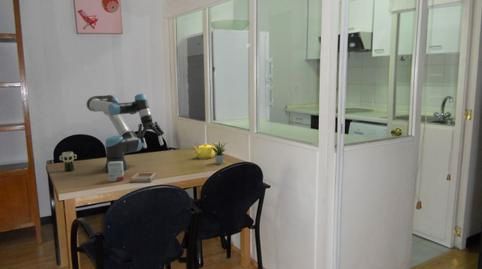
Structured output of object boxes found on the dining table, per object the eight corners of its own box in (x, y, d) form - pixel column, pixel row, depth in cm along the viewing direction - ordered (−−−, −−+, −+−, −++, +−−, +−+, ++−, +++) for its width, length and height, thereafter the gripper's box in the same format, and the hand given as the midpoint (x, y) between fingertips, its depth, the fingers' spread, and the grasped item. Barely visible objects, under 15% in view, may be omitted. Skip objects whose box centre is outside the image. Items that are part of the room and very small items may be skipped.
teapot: (199, 161, 288) (198, 147, 286) (189, 158, 300) (188, 144, 299) (223, 157, 300) (223, 143, 299) (213, 154, 313) (213, 141, 311)
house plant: (224, 159, 290) (223, 138, 288) (234, 162, 279) (233, 140, 277) (207, 162, 283) (206, 140, 280) (217, 165, 271) (216, 143, 269)
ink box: (124, 178, 243) (123, 160, 242) (122, 180, 239) (121, 162, 237) (111, 179, 243) (109, 161, 241) (108, 181, 238) (107, 163, 237)
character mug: (60, 172, 266) (58, 154, 264) (61, 170, 272) (59, 152, 270) (77, 170, 270) (75, 152, 268) (77, 168, 276) (76, 150, 274)
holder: (129, 182, 234) (129, 178, 234) (137, 176, 249) (137, 172, 248) (150, 182, 233) (150, 178, 233) (157, 175, 248) (157, 172, 248)
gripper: (132, 116, 248) (141, 147, 246) (163, 113, 266) (171, 142, 264) (126, 119, 252) (135, 150, 251) (157, 116, 271) (165, 145, 269)
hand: (153, 146), depth 257 cm, fingers open, 13 cm apart
